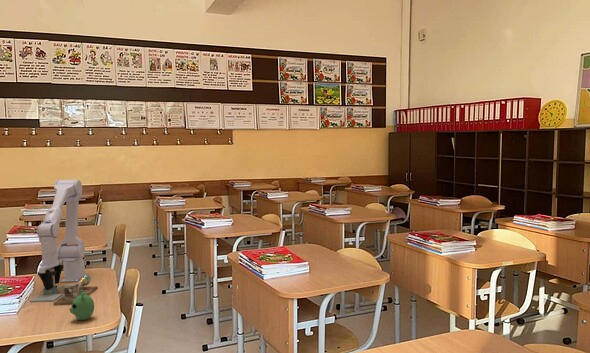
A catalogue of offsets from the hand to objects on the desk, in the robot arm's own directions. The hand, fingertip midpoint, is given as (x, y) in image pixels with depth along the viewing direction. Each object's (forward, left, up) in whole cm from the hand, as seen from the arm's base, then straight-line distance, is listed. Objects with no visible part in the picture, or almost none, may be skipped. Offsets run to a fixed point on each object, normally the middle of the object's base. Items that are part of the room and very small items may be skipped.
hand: (52, 286), depth 194 cm
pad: (+7, +1, -3) cm, 8 cm away
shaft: (+4, +12, -1) cm, 13 cm away
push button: (0, 0, -3) cm, 3 cm away
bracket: (+5, +12, -3) cm, 14 cm away
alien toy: (+31, +25, -3) cm, 40 cm away
